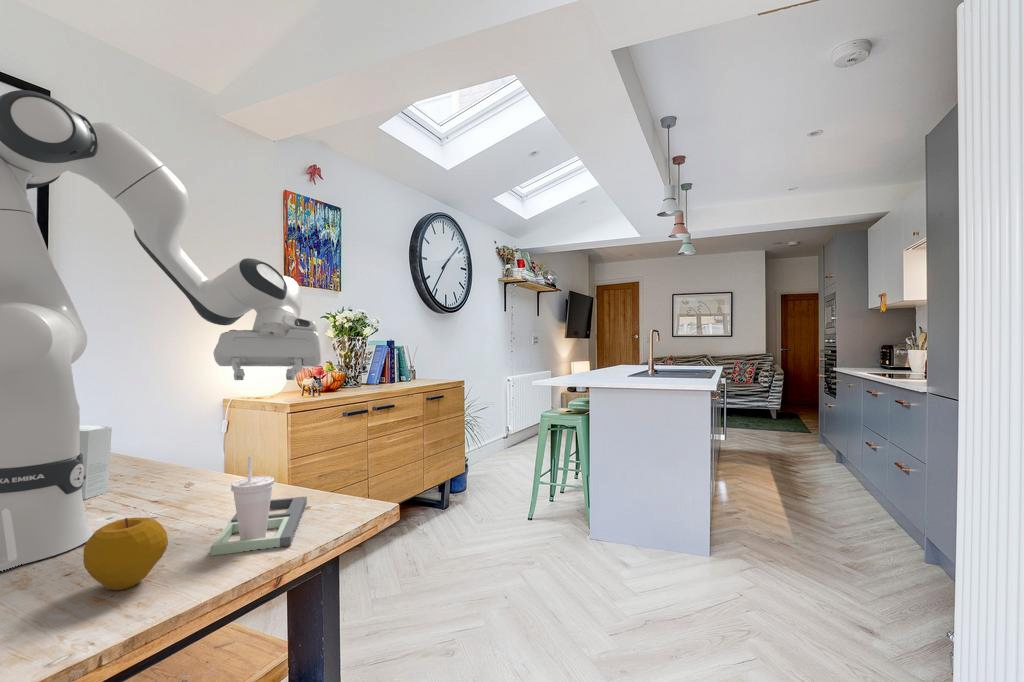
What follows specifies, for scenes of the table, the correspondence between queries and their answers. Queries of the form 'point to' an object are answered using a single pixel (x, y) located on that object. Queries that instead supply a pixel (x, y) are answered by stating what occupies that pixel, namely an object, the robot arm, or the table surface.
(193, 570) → the table surface
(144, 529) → the apple
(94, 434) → the skincare box
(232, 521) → the rail
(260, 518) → the smoothie
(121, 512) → the table surface
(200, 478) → the table surface
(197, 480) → the table surface
